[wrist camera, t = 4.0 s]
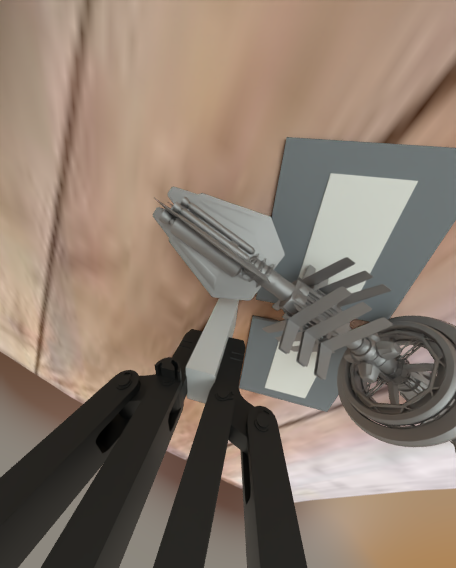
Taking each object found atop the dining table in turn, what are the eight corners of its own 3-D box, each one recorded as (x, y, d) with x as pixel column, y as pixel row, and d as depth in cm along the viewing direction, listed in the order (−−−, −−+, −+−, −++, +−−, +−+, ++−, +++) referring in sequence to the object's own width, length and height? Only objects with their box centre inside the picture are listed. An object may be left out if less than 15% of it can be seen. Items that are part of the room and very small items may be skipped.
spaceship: (536, 578, 13) (919, 760, 7) (115, 277, 12) (83, 146, 6) (495, 444, 18) (697, 475, 11) (188, 218, 17) (217, 110, 10)
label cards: (286, 138, 11) (286, 136, 10) (495, 151, 9) (504, 150, 9) (239, 385, 23) (238, 388, 23) (326, 409, 22) (327, 412, 21)
